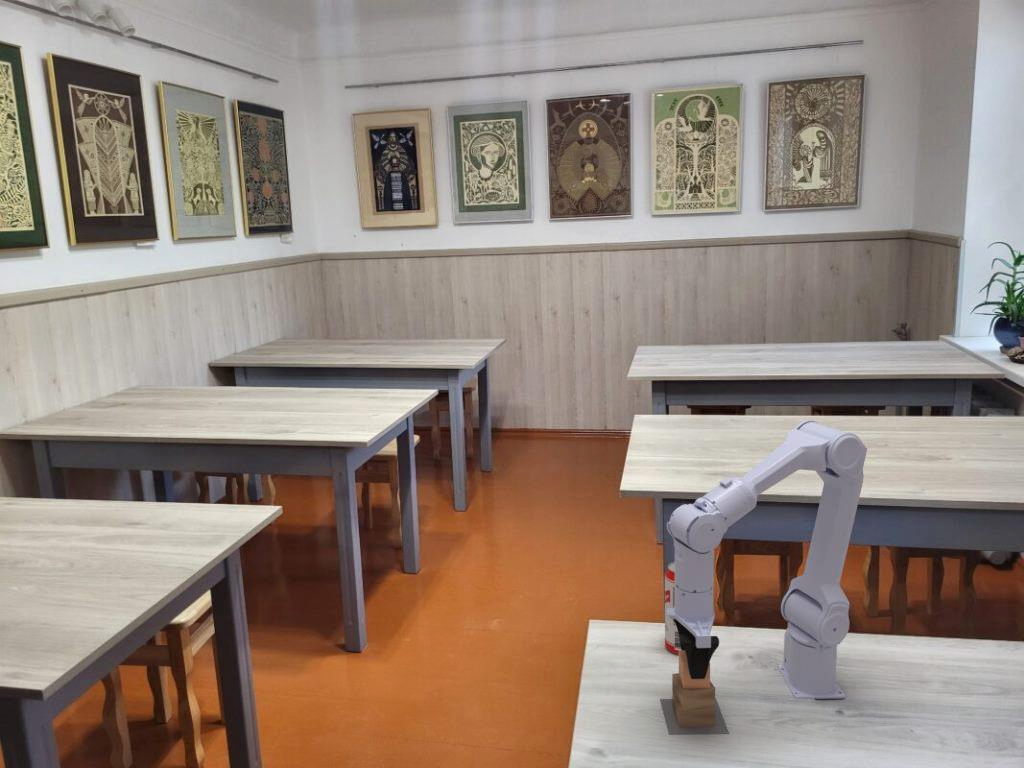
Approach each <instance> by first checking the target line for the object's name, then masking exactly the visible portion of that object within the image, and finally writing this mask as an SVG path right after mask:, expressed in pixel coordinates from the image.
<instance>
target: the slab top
mask: <svg viewBox="0 0 1024 768" xmlns="http://www.w3.org/2000/svg"><path fill="white" fill-rule="evenodd" d="M671 675H672V677H671V679H672V680H671V681H672V682H671V687H672V688H671V692H672V691H673V693H674V695H675V696H676V698H677V700H678V701H679V703H680V705H681V706H682V708H683V710H687V709H695V708H703V707H711V706H715V698H716V687H715V686H714V684H713V682H711V680H710V688H683V685H682V682H681V679H680V676H679V672H677V673H672V674H671Z"/></svg>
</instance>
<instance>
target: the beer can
mask: <svg viewBox="0 0 1024 768" xmlns="http://www.w3.org/2000/svg"><path fill="white" fill-rule="evenodd" d="M674 606H675V561H673V562H670V563H669V564H668V566H667V570H666V572H665V574H664V644H665V648H666V649H667V651H669V652H670V653H672V654H674V655H678V656H679V650H681V645H680V640H679V634H678V630H677V626H676V624H675V622H674V620H673V619H670V618H668V616H667V609H671V608H674Z"/></svg>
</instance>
